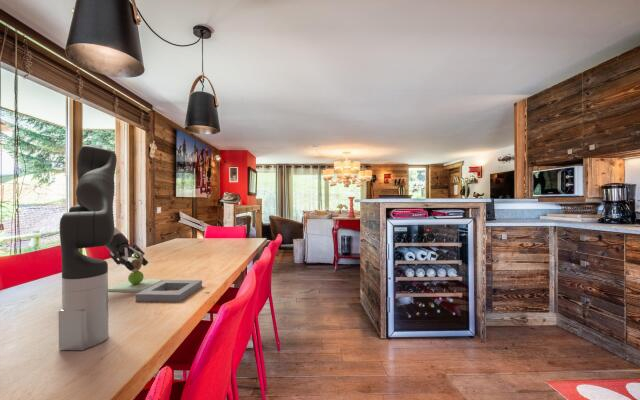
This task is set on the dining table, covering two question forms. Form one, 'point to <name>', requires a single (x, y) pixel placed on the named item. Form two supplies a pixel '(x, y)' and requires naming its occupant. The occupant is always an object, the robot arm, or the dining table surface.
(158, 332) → the dining table surface
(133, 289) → the green mat
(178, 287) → the gray square frame
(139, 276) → the snail figurine
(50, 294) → the dining table surface
